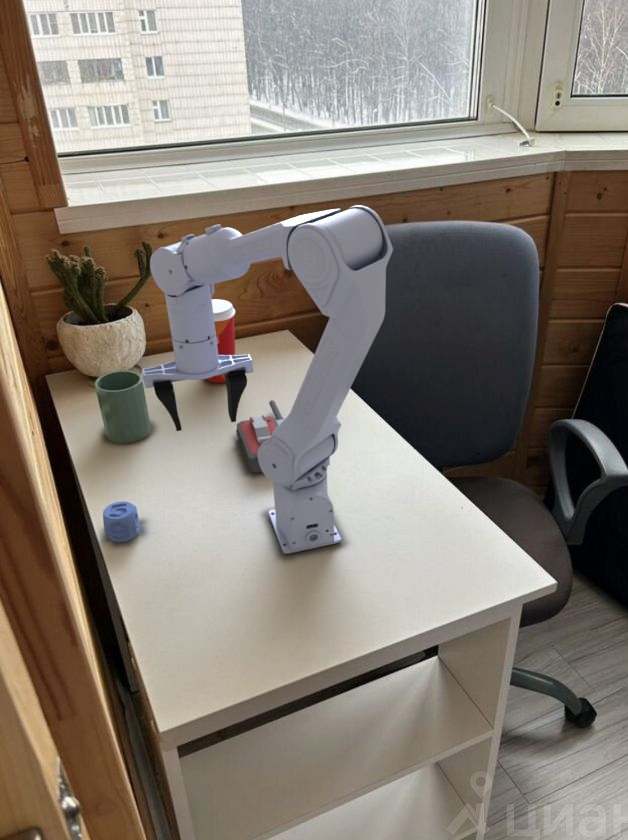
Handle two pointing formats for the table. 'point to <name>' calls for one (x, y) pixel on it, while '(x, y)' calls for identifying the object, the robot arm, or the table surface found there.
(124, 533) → the decorative dice
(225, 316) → the paper cup
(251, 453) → the walkie-talkie
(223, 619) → the table surface
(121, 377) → the pencil cup
